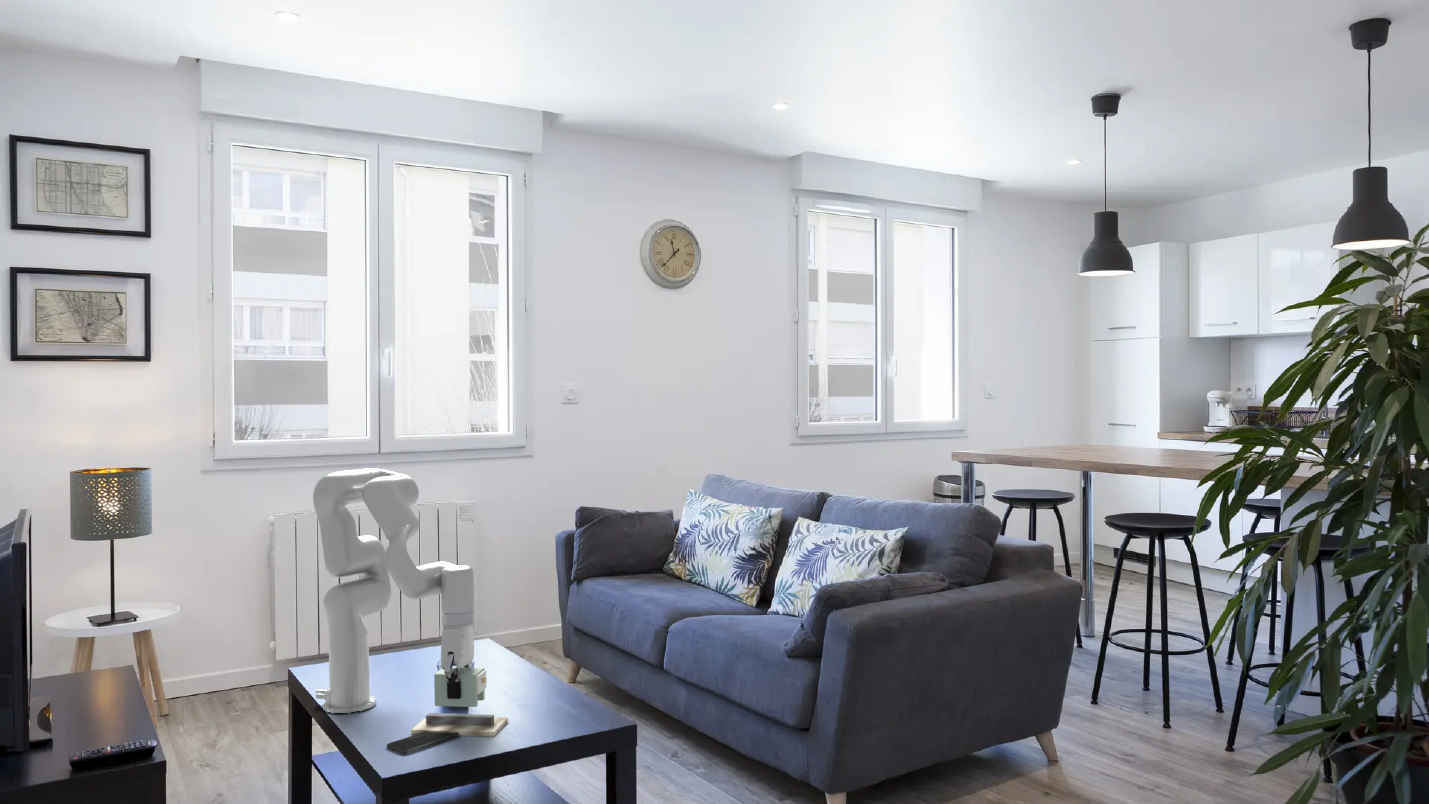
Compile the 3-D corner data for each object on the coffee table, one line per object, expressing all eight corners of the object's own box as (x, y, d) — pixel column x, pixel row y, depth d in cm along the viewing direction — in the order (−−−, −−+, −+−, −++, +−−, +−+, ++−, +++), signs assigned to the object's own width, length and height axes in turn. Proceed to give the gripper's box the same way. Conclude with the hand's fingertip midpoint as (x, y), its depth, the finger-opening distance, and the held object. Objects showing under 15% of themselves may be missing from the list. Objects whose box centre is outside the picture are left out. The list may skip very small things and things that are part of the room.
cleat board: (410, 734, 233) (410, 721, 233) (428, 719, 243) (427, 707, 243) (493, 736, 231) (493, 723, 231) (507, 721, 241) (507, 709, 241)
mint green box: (434, 705, 234) (434, 674, 234) (444, 697, 240) (444, 667, 240) (481, 707, 233) (481, 675, 233) (490, 699, 239) (489, 667, 239)
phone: (461, 733, 231) (403, 752, 219) (461, 738, 231) (403, 757, 219) (441, 726, 236) (384, 744, 224) (441, 731, 236) (384, 749, 224)
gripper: (456, 610, 245) (457, 682, 246) (428, 627, 228) (429, 705, 228) (486, 610, 244) (487, 683, 245) (460, 627, 227) (461, 706, 228)
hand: (459, 693), depth 237 cm, fingers closed on mint green box, 6 cm apart
